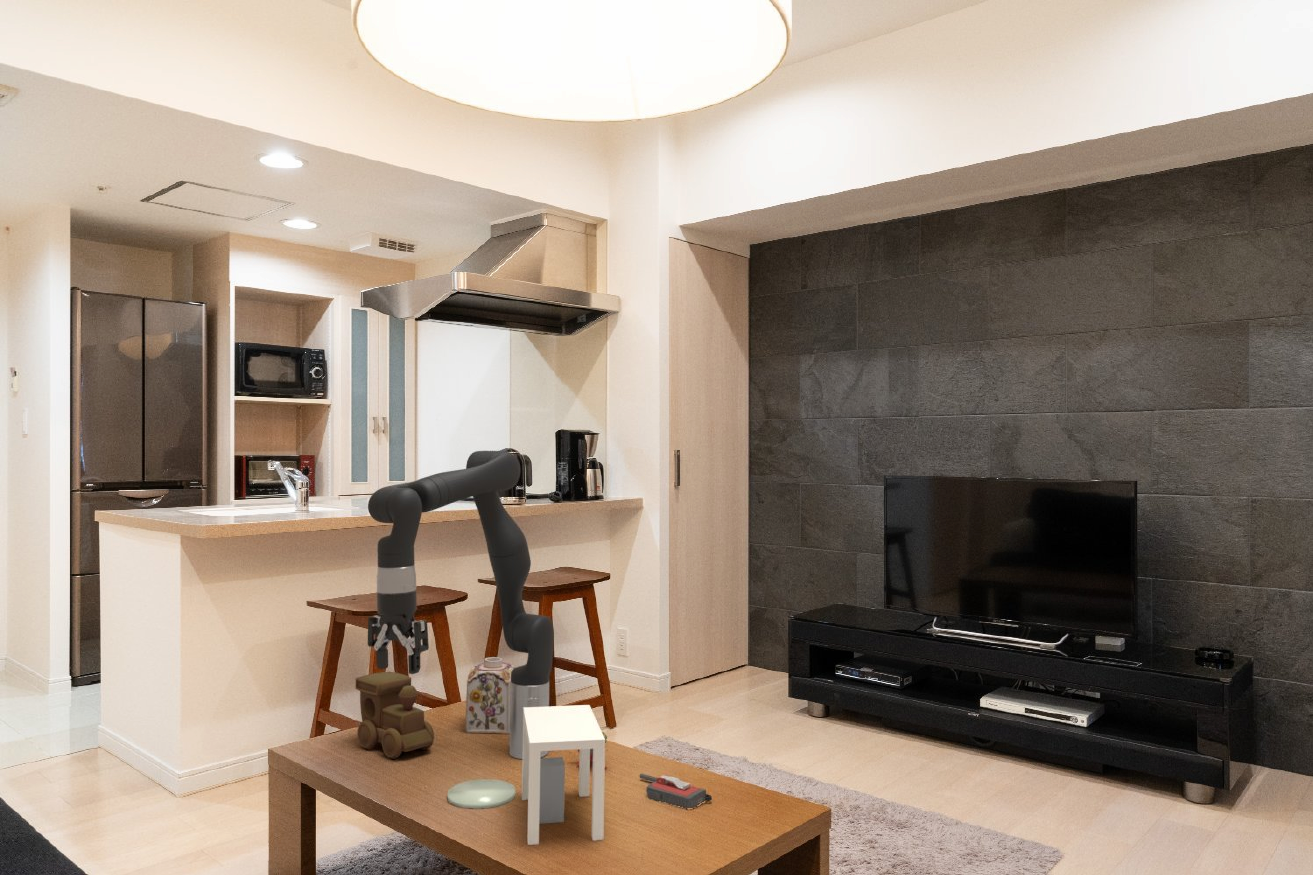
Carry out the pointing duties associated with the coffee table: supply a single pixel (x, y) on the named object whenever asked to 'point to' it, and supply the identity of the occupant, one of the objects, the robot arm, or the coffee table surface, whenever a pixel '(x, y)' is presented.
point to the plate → (481, 793)
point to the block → (552, 790)
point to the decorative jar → (489, 697)
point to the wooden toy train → (391, 714)
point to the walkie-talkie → (675, 791)
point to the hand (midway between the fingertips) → (398, 670)
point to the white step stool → (562, 733)
